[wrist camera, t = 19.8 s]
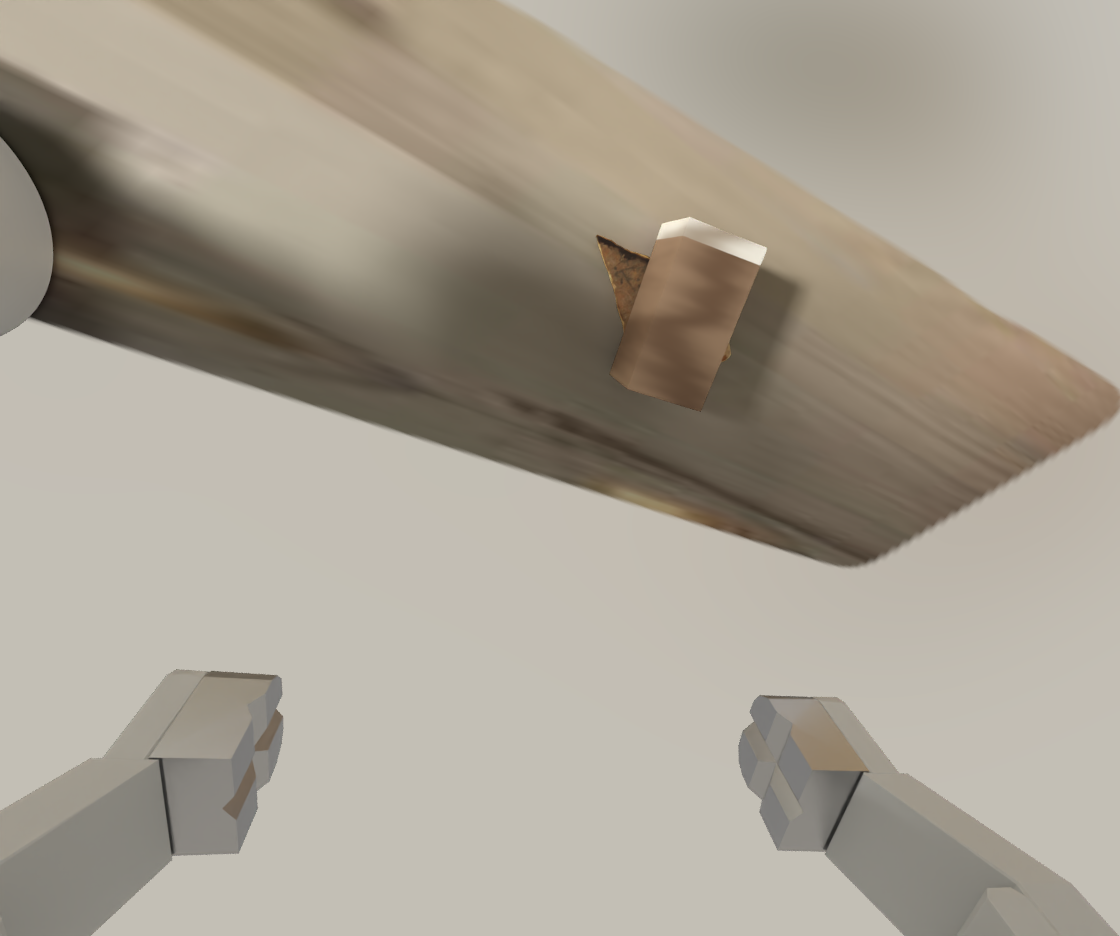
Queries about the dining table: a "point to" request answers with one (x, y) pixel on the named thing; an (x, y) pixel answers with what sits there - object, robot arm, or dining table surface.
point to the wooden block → (686, 311)
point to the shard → (627, 277)
